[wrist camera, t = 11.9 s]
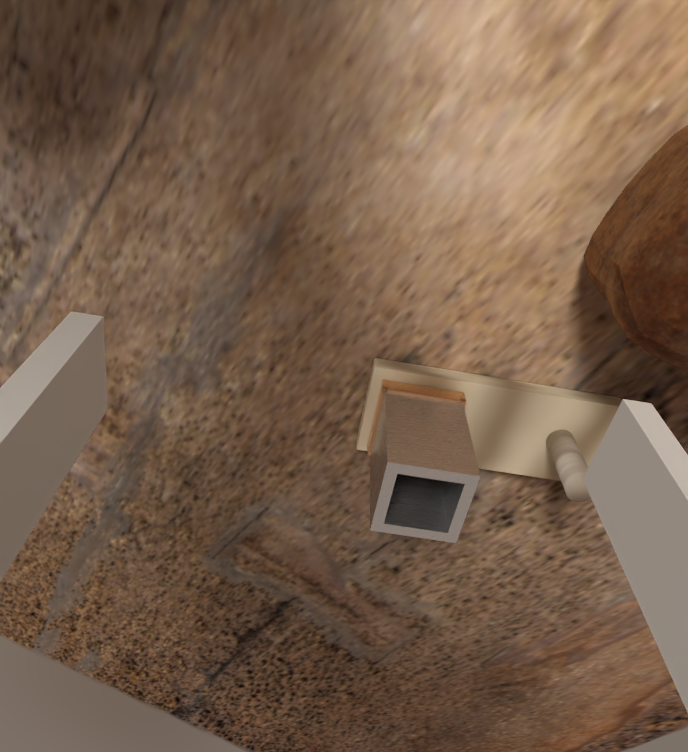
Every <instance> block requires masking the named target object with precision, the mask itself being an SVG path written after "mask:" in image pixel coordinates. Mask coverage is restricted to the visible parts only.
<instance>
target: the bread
mask: <svg viewBox="0 0 688 752" xmlns="http://www.w3.org/2000/svg"><path fill="white" fill-rule="evenodd" d="M584 258H585V264H586V269H587V273H588V275H589V277H590V279H591V280H592V281H593V283H594V284H595V285H596V286H597V288H598V289H599V291H600V292H601V293H602V295H603V296H604V297H605V298H606V299H607V300H608V302H609V304H610V307H611V310H612V312H613V315H614V317H615V318H616V320H617V322H618V323H619V325H620V326H621V328H622V329H623V331H624V333H625V334H626V336H627V337H628V339H629V340H631V341H632V342H634V343H636V344H637V345H639V346H640V347H642V348H643V349H645V350H646V351H648V352H649V353H651V354H652V355H654V356H655V357H657V358H659V359H661V360H663V361H665V362H667V363H669V364H671V365H673V366H676V367H678V368H680V369H682V370H684V371H686V372H687V373H688V125H687V126H686V127H684V128H683V129H682V130H680V131H679V132H677V133H676V134H674V135H673V136H672V137H671V138H670V139H669V140H668V141H667V142H666V143H665V144H664V145H663V146H662V147H661V148H660V150H659V151H658V152H657V153H656V154H655V155H654V156H653V157H652V158H651V159H650V160H649V161H648V162H647V163H646V164H645V165H644V166H643V168H642V169H641V170H640V171H639V172H638V173H637V175H636V176H635V177H634V178H633V179H632V180H631V181H630V183H629V184H628V185H627V186H626V187H625V189H624V190H623V191H622V193H621V194H620V196H619V197H618V198H617V200H616V201H615V203H614V204H613V205H612V207H611V208H610V209H609V211H608V212H607V214H606V215H605V217H604V218H603V220H602V221H601V223H600V225H599V226H598V228H597V229H596V231H595V232H594V234H593V236H592V238H591V240H590V243H589V245H588V247H587V250H586V252H585V254H584Z"/></svg>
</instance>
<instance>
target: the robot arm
mask: <svg viewBox="0 0 688 752" xmlns="http://www.w3.org/2000/svg"><path fill="white" fill-rule="evenodd" d="M107 409H108V395H107V376H106V358H105V339H104V321H103V316H97V315H91V314H85V313H78V312H72V311H71V312H70V313H69V314H68V315H67V316H66V317H65V318H64V320H63V321H62V322H61V323H60V324H59V325H58V326H57V327H56V328H55V329H54V330H53V331H52V333H51V334H50V335H49V336H48V337H47V338H46V339H45V340H44V341H43V342H42V343H41V344H40V345H39V347H38V348H37V349H36V350H35V351H34V352H33V353H32V354H31V355H30V356H29V357H28V358H27V360H26V361H25V362H24V363H23V364H22V365H21V366H20V367H19V368H18V369H17V370H16V371H15V373H14V374H13V375H12V376H11V377H10V378H9V379H8V380H7V381H6V382H5V383H4V384H3V385H2V387H1V388H0V582H1V580H2V579H3V577H4V576H5V574H6V572H7V571H8V569H9V567H10V566H11V564H12V563H13V561H14V559H15V558H16V556H17V555H18V553H19V551H20V550H21V548H22V546H23V545H24V543H25V542H26V540H27V538H28V537H29V535H30V534H31V532H32V530H33V529H34V527H35V526H36V524H37V522H38V521H39V519H40V517H41V516H42V514H43V513H44V511H45V509H46V508H47V506H48V505H49V503H50V501H51V500H52V498H53V496H54V495H55V493H56V492H57V490H58V488H59V487H60V485H61V484H62V482H63V480H64V479H65V477H66V475H67V474H68V472H69V471H70V469H71V467H72V466H73V464H74V463H75V461H76V459H77V458H78V456H79V454H80V453H81V451H82V450H83V448H84V446H85V445H86V443H87V442H88V440H89V438H90V437H91V435H92V433H93V432H94V430H95V429H96V427H97V425H98V424H99V422H100V421H101V419H102V417H103V416H104V414H105V412H106V411H107ZM583 481H584V483H585V486H586V488H587V490H588V492H589V494H590V497H591V499H592V501H593V503H594V506H595V508H596V510H597V512H598V514H599V517H600V519H601V521H602V523H603V526H604V528H605V530H606V532H607V534H608V537H609V539H610V541H611V543H612V546H613V548H614V550H615V552H616V555H617V557H618V559H619V561H620V563H621V566H622V568H623V570H624V572H625V575H626V577H627V579H628V581H629V583H630V586H631V588H632V590H633V592H634V595H635V597H636V599H637V601H638V603H639V606H640V608H641V610H642V612H643V615H644V617H645V619H646V621H647V623H648V626H649V628H650V630H651V632H652V635H653V637H654V639H655V641H656V643H657V646H658V648H659V650H660V652H661V655H662V657H663V659H664V661H665V663H666V666H667V668H668V670H669V672H670V675H671V677H672V679H673V681H674V683H675V686H676V688H677V690H678V692H679V695H680V697H681V699H682V701H683V703H684V706H685V708H686V710H687V712H688V455H687V453H686V452H685V451H684V449H683V448H682V446H681V445H680V443H679V442H678V441H677V439H676V438H675V436H674V435H673V433H672V432H671V431H670V429H669V428H668V426H667V425H666V423H665V422H664V421H663V419H662V418H661V416H660V415H659V414H658V412H657V411H656V409H655V408H654V406H653V405H652V404H651V403H646V402H639V401H633V400H627V399H623V400H622V402H621V404H620V406H619V408H618V409H617V411H616V413H615V415H614V417H613V419H612V421H611V423H610V425H609V427H608V429H607V431H606V433H605V435H604V437H603V439H602V441H601V443H600V445H599V447H598V449H597V451H596V453H595V455H594V457H593V459H592V461H591V463H590V465H589V467H588V469H587V471H586V473H585V475H584V477H583Z"/></svg>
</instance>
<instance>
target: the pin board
mask: <svg viewBox="0 0 688 752" xmlns="http://www.w3.org/2000/svg"><path fill="white" fill-rule="evenodd" d="M382 379H385V380H391V381H397V382H404V383H410V384H416V385H422V386H428V387H435V388H441V389H447V390H453V391H459V392H464V395H465V399H466V405H465V408H464V410H465V414H466V418H467V422H468V426H469V431H470V435H471V439H472V443H473V447H474V451H475V456H476V460H477V464H478V468H480V469H486V470H492V471H499V472H505V473H512V474H518V475H525V476H531V477H538V478H544V479H551V480H557V481H561V482H562V484H563V487H564V489H565V492H566V494H567V496H568V498H569V499H570V500H572V501H575V502H584V501H587V500H590V499H591V497H590V494H589V492H588V490H587V488H586V486H585V483H584V481H583V477H584V475H585V473H586V471H587V469H588V467H589V465H590V463H591V461H592V459H593V457H594V455H595V453H596V451H597V449H598V447H599V445H600V443H601V441H602V439H603V437H604V435H605V433H606V431H607V429H608V427H609V425H610V423H611V421H612V419H613V417H614V415H615V413H616V411H617V409H618V408H619V406H620V404H621V402H622V400H621V398H620V397H614V396H608V395H601V394H595V393H589V392H583V391H577V390H571V389H564V388H558V387H552V386H546V385H540V384H534V383H527V382H521V381H515V380H509V379H503V378H497V377H490V376H484V375H478V374H472V373H466V372H460V371H453V370H447V369H441V368H435V367H429V366H423V365H416V364H410V363H404V362H398V361H392V360H386V359H379V358H374V362H373V366H372V371H371V375H370V380H369V385H368V389H367V394H366V399H365V403H364V408H363V412H362V417H361V422H360V426H359V431H358V436H357V448H356V450H363V451H367V444H368V440H369V436H370V431H371V427H372V423H373V418H374V414H375V410H376V405H377V401H378V396H379V392H380V388H381V383H382ZM413 477H416V476H413Z"/></svg>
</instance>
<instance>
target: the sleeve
mask: <svg viewBox="0 0 688 752" xmlns="http://www.w3.org/2000/svg"><path fill="white" fill-rule="evenodd" d="M465 405H466V399H465V395H464V392H459V391H453V390H447V389H441V388H435V387H428V386H422V385H416V384H410V383H404V382H397V381H391V380H385V379H382V383H381V388H380V392H379V396H378V401H377V405H376V410H375V414H374V418H373V423H372V427H371V431H370V436H369V440H368V444H367V456H370V530H371V531H377V532H384V533H391V534H397V535H404V536H411V537H418V538H424V539H431V540H438V541H445V542H451V543H457V540H458V537H459V534H460V531H461V529H462V526H463V523H464V520H465V518H466V515H467V512H468V509H469V507H470V504H471V501H472V498H473V496H474V493H475V490H476V487H477V485H478V482H479V479H480V472H479V468H478V464H477V460H476V456H475V451H474V447H473V443H472V439H471V435H470V431H469V426H468V422H467V418H466V414H465V410H464V408H465ZM413 476H416V477H413Z"/></svg>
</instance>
